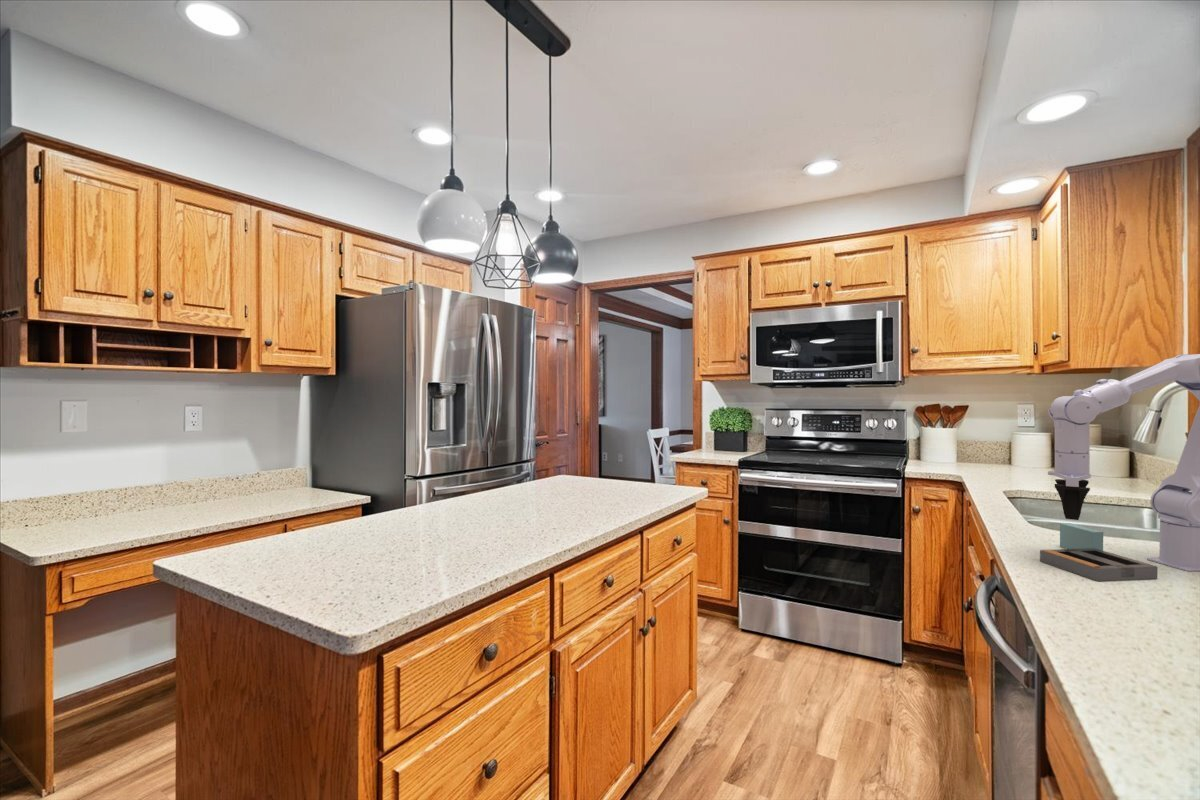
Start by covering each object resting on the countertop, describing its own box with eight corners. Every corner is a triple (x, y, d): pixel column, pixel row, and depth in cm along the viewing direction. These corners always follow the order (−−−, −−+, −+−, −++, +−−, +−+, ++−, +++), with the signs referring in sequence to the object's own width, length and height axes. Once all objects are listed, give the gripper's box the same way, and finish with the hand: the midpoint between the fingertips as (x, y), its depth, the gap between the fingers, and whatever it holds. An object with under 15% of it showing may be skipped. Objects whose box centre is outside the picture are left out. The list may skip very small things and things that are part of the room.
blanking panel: (1069, 546, 131) (1069, 523, 131) (1103, 556, 123) (1103, 531, 123) (1059, 547, 131) (1060, 523, 131) (1093, 557, 123) (1093, 532, 123)
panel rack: (1094, 559, 121) (1094, 546, 121) (1157, 578, 109) (1157, 565, 108) (1039, 561, 120) (1040, 548, 120) (1097, 581, 107) (1097, 567, 107)
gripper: (1048, 448, 128) (1048, 507, 129) (1047, 454, 117) (1047, 519, 117) (1089, 450, 124) (1089, 511, 124) (1092, 456, 113) (1092, 524, 113)
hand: (1071, 515), depth 120 cm, fingers open, 7 cm apart
